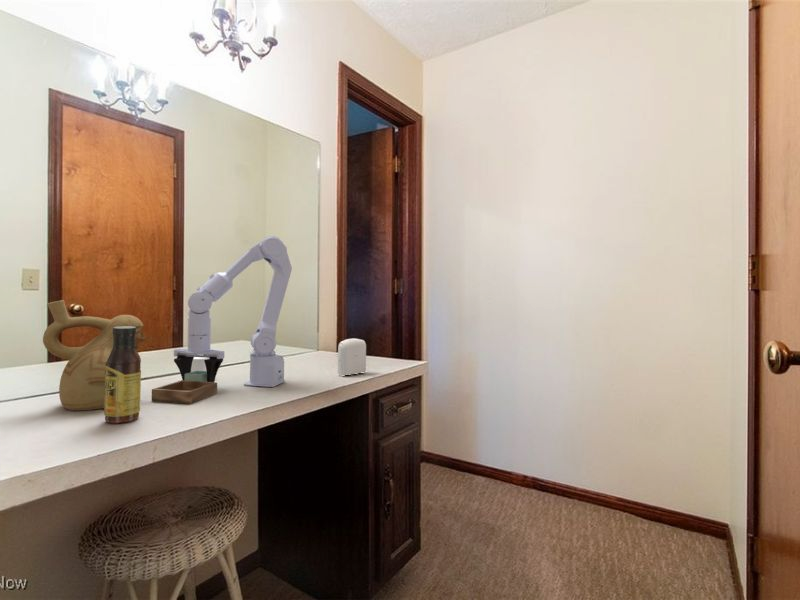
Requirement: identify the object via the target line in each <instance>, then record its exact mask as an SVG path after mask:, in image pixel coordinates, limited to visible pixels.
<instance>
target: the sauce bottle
mask: <svg viewBox="0 0 800 600" xmlns="http://www.w3.org/2000/svg"><path fill="white" fill-rule="evenodd" d="M135 334H136V327H133V326H118V327H114V328H113V335H114V339H113V340H114V342H113V348H112V351H111V353H110V356H109V358H108V360H107V363H106V365H105V405H104V408H103V410H104V411H103V412H104V420H105V422H106V423H109V424H113V425H115V424H124V423H129V422H133V421H135V420H138V418H139V417H140V411H141V389H142V388H141V387H142V385H141V384H142V370H141V368H142V367H141V364H142V359H141V358H142V357H141V356H140V353H139V352H138V351H137V350H135V348H134V347H135Z"/></svg>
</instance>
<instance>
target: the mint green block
mask: <svg viewBox="0 0 800 600" xmlns="http://www.w3.org/2000/svg"><path fill="white" fill-rule="evenodd" d="M185 380H187V381H202V382H207V371H193V372H190V373H186V374H185Z"/></svg>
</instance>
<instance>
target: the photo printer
mask: <svg viewBox="0 0 800 600" xmlns="http://www.w3.org/2000/svg"><path fill="white" fill-rule="evenodd" d="M337 347H338V348H337V375H338V374H339V375H349V374H355V373H361V372H365V371H366V372H367V370H366V369H367V368H366V367H367V344H366V341H365V340H364V339H360V338H355V337H354V338H347V339H344V340H342V341H340V342H339V343H338V346H337ZM366 372H365V373H366ZM339 375H338V376H339Z"/></svg>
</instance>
